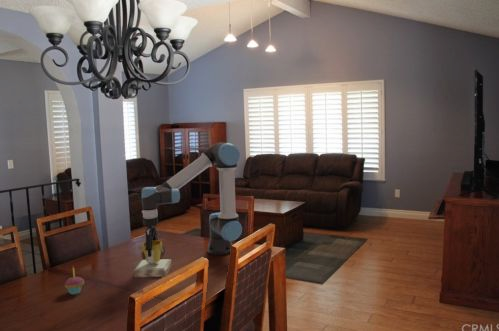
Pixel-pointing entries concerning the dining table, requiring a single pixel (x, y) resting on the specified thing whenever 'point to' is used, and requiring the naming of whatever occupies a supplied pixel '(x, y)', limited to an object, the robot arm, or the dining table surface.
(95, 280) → the dining table surface
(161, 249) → the tin
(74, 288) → the cupcake
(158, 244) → the plant pot
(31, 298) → the dining table surface
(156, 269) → the plinth
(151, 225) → the robot arm
